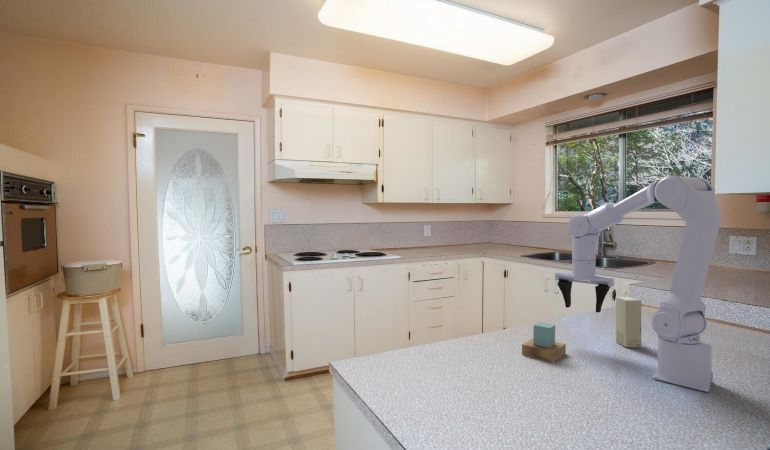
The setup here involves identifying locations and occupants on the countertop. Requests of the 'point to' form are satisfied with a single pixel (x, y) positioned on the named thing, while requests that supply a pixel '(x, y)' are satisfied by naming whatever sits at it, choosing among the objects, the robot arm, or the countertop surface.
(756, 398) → the countertop surface
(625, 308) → the box
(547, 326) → the teal block
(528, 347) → the tan wooden block
